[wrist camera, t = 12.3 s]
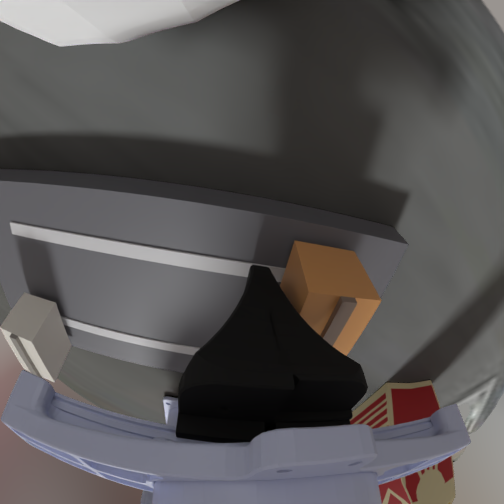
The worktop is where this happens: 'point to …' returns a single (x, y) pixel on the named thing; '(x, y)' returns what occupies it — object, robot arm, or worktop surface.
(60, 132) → the worktop surface
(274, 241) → the mixing panel
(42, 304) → the block
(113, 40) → the cup
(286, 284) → the fader orange
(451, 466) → the milk carton
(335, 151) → the worktop surface
